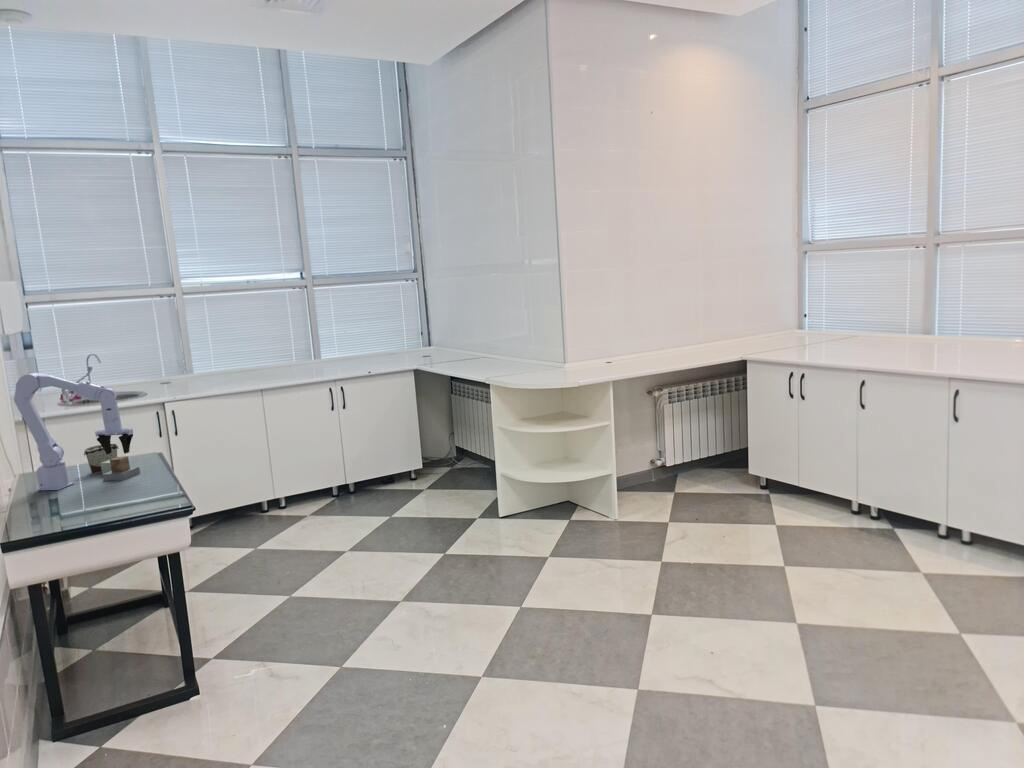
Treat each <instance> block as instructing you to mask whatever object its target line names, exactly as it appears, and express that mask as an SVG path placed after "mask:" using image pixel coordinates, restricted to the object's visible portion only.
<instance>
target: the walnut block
mask: <svg viewBox="0 0 1024 768" xmlns="http://www.w3.org/2000/svg"><path fill="white" fill-rule="evenodd" d="M110 464H111V470H112V472H124V471H126V470H128V469H130V467H131V466H130V460H129V456H126V455H125V456H117V457H116V458H113V459H111V460H110Z"/></svg>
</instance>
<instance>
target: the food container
mask: <svg viewBox="0 0 1024 768" xmlns="http://www.w3.org/2000/svg"><path fill="white" fill-rule="evenodd" d="M118 450H119V446H118V445H117V443H111V453H110V454H106V452H105V450H104V448H103V447H102V445H101V444H99V445H95V446H90V447H88V448H86V449H84V451H83V452H84V454H83V455H84V457H85V456H86V460H87V463H88V465H89V469H90V472H91V474H92V475H95V474H99V472H100V473H102V469H101V464H100V463H102V462H105V461H107V460H111V459H113V458H116V457H118Z"/></svg>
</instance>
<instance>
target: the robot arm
mask: <svg viewBox="0 0 1024 768" xmlns="http://www.w3.org/2000/svg"><path fill="white" fill-rule="evenodd" d="M49 387H54V388H58V389H62V390H67V391H70V392H73V393H74V392H75V394H76V396H77V397H81V398H83V399H84V398H85V399H88V400H92V401H98V402H99V403H100V406H101V407H100V410H101V416H102V421H103V425H104V426H103V427H104V429H103V430H95V432H94V434H95V437H97V438H96V441H97V442H98V443H99V445H102V447H103V448H104V450H105V452H106V454H110V453H111V444H112V443H111V437H112V436H118V439H119V441H120V443H121V446H122V451H123V454H125V455H126V454H129V453H130V447H131V442H132V439H133V437H134V429H133V428H123V426H122V421H121V415H120V410H119V406H118V401H117V396H118V394H117V391H116V389H114V388H112V387H110V386H106V387H105V385H97V384H93V383H92V382H91V381H89V380H86V381H80V382H79V383H77V382H74V381H70V380H68V379H65V378H61V377H59V376H58V377H57V376H55V375H51V374H49V373H48V374H47V373H39V372H37V371H30V372H28V373H26V374H24V375H22V376H20V378H19V379H18V381H17V382H16V383H15V392H14V398H13V401H14V404H15V405H16V407H17V410H18V411H19V413H20V414H21V416H22V417H21V418H22V419H23V420H24V422H25V424H26V426H27V428H28V430H29V432H30V434H31V436H32V437H33V439H34V441H35V443H36V446H37V447H36V448H37V451H38V454H39V461H40V463H41V465H39V466H38V468H37V470H36V478H37V483H38V488H37V491H59V490H62V489H64V488H67V487H70V486H72V485H75V482H74V481H72V482H69V477H68V473H67V466H66V461H65V460H64V459H63V458H64V454H65V451H64V449H63V448H62V447H61V446H60V445H59V444H58V443H57V441H56V440H55V439H54V438H53V437H52V435H51V434H50V432H49V431H48V429H47V426H46V424H45V422H44V421H43V419H42V417H41V415H40V414H39V411H38V409H37V408H36V406H35V404H34V402H33V397H34V395H35V393H36V392H37V391H38V389H43V388H49Z"/></svg>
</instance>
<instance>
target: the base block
mask: <svg viewBox="0 0 1024 768" xmlns="http://www.w3.org/2000/svg"><path fill="white" fill-rule="evenodd" d="M138 473H139V474H140V473H141V470H140V466H130V469H128V470H126V471H124V472H112V471H109V472H107V473H104V474H102V473H101V474H102V480H103V481H125V480H127V479H130V478H132V477H135V476H136V474H137V475H138ZM129 477H130V478H129Z"/></svg>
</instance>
